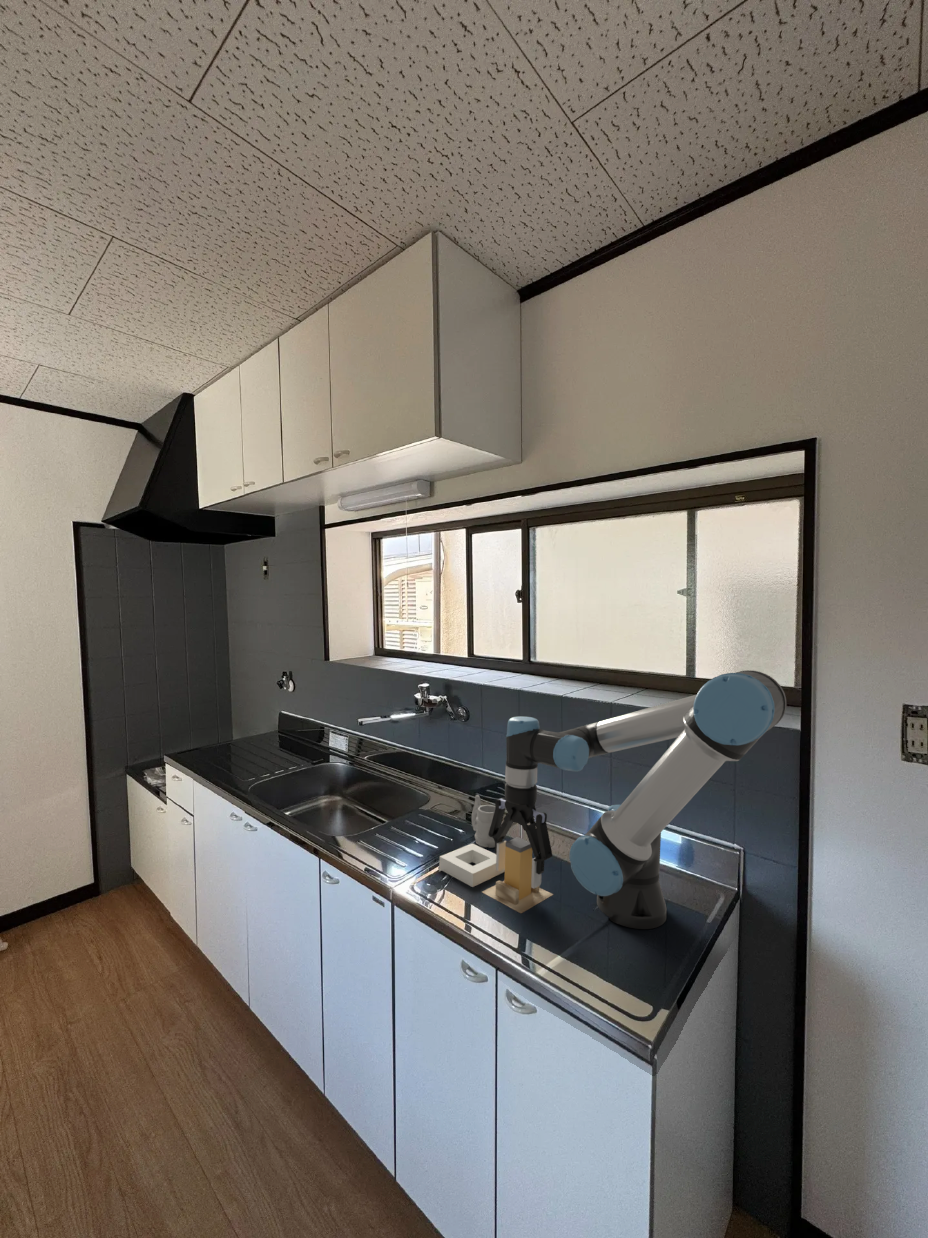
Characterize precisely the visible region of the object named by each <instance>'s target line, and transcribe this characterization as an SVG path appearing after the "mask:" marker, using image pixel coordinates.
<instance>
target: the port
mask: <svg viewBox="0 0 928 1238" xmlns="http://www.w3.org/2000/svg"><path fill="white" fill-rule="evenodd" d="M471 863H474V865H472V864H471ZM438 865H439V867H438V872H441V871H442V872H443V873H446V874H447V875H449V876H451V877H453V878H455V879H457V880H458V881H460V882H462V883H464V884H466V885H468V886H470V887H472V888H474V887H475V886H478V885H480V884H482V883H484V882H486V881H489V880H491V879H493V878H494V877H496V876H499V875H501V874H503V873H505V868H504V869H502V870H500V871H497V870H496V854H495V852H492V851H490V850H487V848H486V849H485V848H484V847H482V846H479V845H478V844H475V843H470V844H468V845H464V846H461V847H459V848H457V849H455V850H453V851H450V852H447V853H444V854H442V855H439V864H438Z"/></svg>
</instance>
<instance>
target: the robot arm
mask: <svg viewBox="0 0 928 1238" xmlns="http://www.w3.org/2000/svg"><path fill="white" fill-rule="evenodd" d="M786 710H787V697H786V693H785V691H784V689H783V688H782V686H781V684H780V683H779V682H778V681H777V680H776V679H775V678H773V677H772V676H771V675H768V674H766V673H764V672H762V671H757V670H748V669H747V670H740V671H737V672H727V673H723V674H720V675H717V676H714V677H713V678H712V679H709V680H708V681H707V682H706V683H704V684H703V685H702V686H701V687H700V689H699V690H698V692H697V694H694V695H690V696H686V697H683V698H679V699H676V700H671V701H668V702H665V703H662V704H661V703H660V704H658V705H654V706H650V707H645V708H643V709H639V710H637V711H633V712H628V713H625V714H622V715H617V716H615V717H610V718H607V719H603V720H600V721H595V722H593V723H592V722H591V723H587V724H584V725H581V726H578V727H575V728H571V729H568V730H564V731H563V730H562V731H560V732H555V731H549V730H545V729H542V728H540V721H539V720H538V719H537V718H535V717H531V716H520V715H519V716H513V717H511V718H509V719H508V721H507V726H506V727H507V728H506V735H505V739H506V742H505V743H506V745H505V746H506V749H505V751H506V757H505V759H506V760H505V771H504V772H505V775H504V776H505V777H504V780H505V782H506V783H505V784H504V797H501V798H498V799H495V802H494V803H495V805H494V806H495V812H494V816H493V819H492V823H491V826H490V830H489V837H492V838H493V839H494V841H495V847H494V854H496V870H497V871H500V870H502V869H504V868H505V847H506V842H507V840H505V839H506V836H507V834H508V832H510V829H511V828H512V827H513V824H514V823H516V824H518V825H520V826H521V827H522V829H523V831H525V834H526V836H527V839H528V841H529V842H530V845H531V847H532V854H533V856H534V858H533V857H532V879H531V888H533V889H534V888H536V887H538V886H539V887H540V886H541V885H542V874H543V873H544V872H545V861H546V860H549V859H550V858H553V852H552V846H551V841H550V835H549V831H548V825H547V818H548V815H547V812H545V811H543V812H540V811H537V809H536V802H537V800H538V799H537V797H538V796H537V795H538V787H537V783H538V765H539V764H541V765H545V766H550V767H553V768H556V769H560V770H563V771H565V772H566V771H570V772H580V771H582V770H583V769H584V766H586V765H587V764H588V760H589V759H590V758H593V757H598V756H602V755H607V754H609V753H614V752H618V751H622V750H627V749H631V748H632V749H633V748H636V747H640V746H645V745H649V744H654V743H659V742H664V741H667V740H672V739H675V740H674V741H673V742H672V743H671V745H670V746H669V747H668V749H667V750H665V752H664V753H663V754H662V756H660V758H659V759H658V760H657V761H656V762H655V764H654V765H653V766H652V767H651V768H650V770H648V772H647V773H646V775H645V776H644V777H643V778H642V780H640V782H639V783H638V784H637V785H636V787H635V788H633V790H632V791H631V792H630V793H629V795H627V797H626V798H625V800H624V801H623V802H622V803H620V804H612V805H609V807H608V808H607V810H606V811H604V813H602V814H601V816H600V817H599V818H598V819H597V821H596V822H595V823H594V824H593V825H592V826H591V828H589V830H588V831H587V832H586V833H584V835H581V836H579V837H576V840H575V841H574V842H573V843H572V844H571V847H570V849H569V855H568V856H569V857H568V858H569V862H570V869H571V871H572V873H573V875H574V877H575V878H576V880H577V881H578V883H579V884H580V885H581V886H582V887H583V888H584V889H585V890H587V891H588V892H590V893H592V894H593V895H596V905H597V908H598V909H599V910H600V911H601V913H602V914H604V915H605V916H606V917H608V920H609V921H611V922H612V923H614V924H616V925H620V926H623V927H626V928H629V929H634V930H635V929H636V930H652V929H656V928H658V927H661V926H662V925H663V924H664V923H666V921H667V909H668V908H667V904H666V900H665V897H664V893H663V889H662V886H661V883H660V868H661V867H660V866H661V864H660V863H661V841H662V837H661V836H662V835H661V834H662V832H663V831H664V829H666V827H667V826H668V825H669V824H670V823H671V822H672V821H673V819H675V817H676V816H677V815H679V813H680V812H681V811H682V810H683V809H684V807H685V806H686V805H687V804H688V803H689V802H690V801H692V799H693V797H694V796H695V795H696V794H697V793H698V792H699V791H700V790H701V789H702V787H703V786H705V784H707V782H708V781H709V780H710V778H712V777H713V776H714V774H715V773H716V772H717V771H718V770H720V768H721V767H722V766H723V764H724V763H726V762H738V761H741V759H743V757H744V756H745V755H746V754H747V753H748V751H750V750H751V749H752V747H754V745H755V744H756V743H757V742H758V740H760V739H761V738H762V737H763V736H764V735H765V734H766V733H767V731H770V730H771V729H772V728H774V727H776V726H777V725H778V723H779V722H780V721H781V720H782V719H783V718H784V716H785V713H786ZM505 812H507V813H506V815H505ZM504 816H505V817H504Z"/></svg>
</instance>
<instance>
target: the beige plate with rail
mask: <svg viewBox="0 0 928 1238" xmlns="http://www.w3.org/2000/svg"><path fill="white" fill-rule="evenodd" d="M531 879H532V877H531ZM481 893H483V894H484V895H486V896H488V897H489V898H491V899H494V900H495V901H497V902H499V903H501V904H503V905H505V906H506V907H508V908H510V909H511V910H513V911H515V912H518V914H519V913H520V914H523V913H525V912H526V911H528V910H530V909H532V908H533V907H535V906H536V905H538V904H540V903H542V902H543V901H545V900H547V899H549V898H550V897H552V896H554V893H552V892H549V891H547V890H545V889H543V888H541V887H540V886H538V887H536V888H534V889H533V888H531V894H529V895H528V896H526V897H524V898H522V899H520V900H519V890H518V889H516V888H514V887H512V886H510V885H508V884H506V883H504V880H503V881H502V880H497V881H495V885H493V886H491V887H487V888H486V889H485V890H483V891H481Z"/></svg>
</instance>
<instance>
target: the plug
mask: <svg viewBox="0 0 928 1238" xmlns="http://www.w3.org/2000/svg"><path fill="white" fill-rule="evenodd" d="M506 841H507V840H506ZM532 859H533V850H532V847H531V845H530V842H529V840H526V839H524V838H521V837H519V836H516V837H514V838H512V839H509V840H508V841H507V842H506V847H505V872H504V877H503V878H504V880H503V881H504V883H506V884H508V885H510V886H512V887H514V888H516V889H518V890H519V900H520V899H522V898H524V897H526V896H528V895H529V894H531V877H532Z"/></svg>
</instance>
